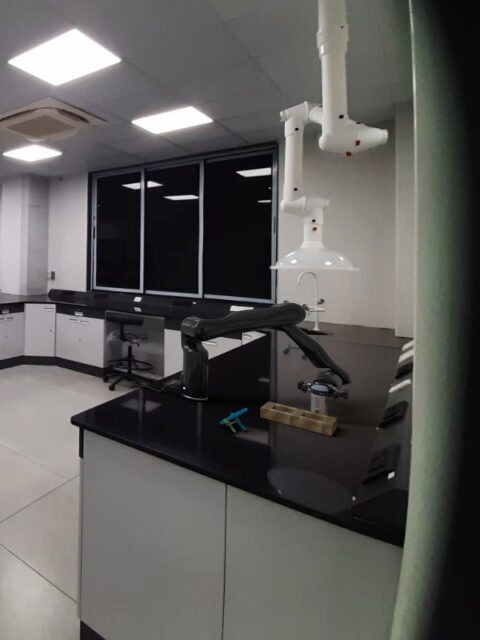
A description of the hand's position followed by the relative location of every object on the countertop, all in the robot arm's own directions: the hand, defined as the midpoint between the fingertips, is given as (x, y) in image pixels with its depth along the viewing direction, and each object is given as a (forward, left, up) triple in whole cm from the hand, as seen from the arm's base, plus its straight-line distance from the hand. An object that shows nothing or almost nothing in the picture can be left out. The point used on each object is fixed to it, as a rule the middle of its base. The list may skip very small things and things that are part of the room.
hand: (319, 393), depth 146 cm
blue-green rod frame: (-17, -35, -10) cm, 40 cm away
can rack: (-4, -10, -10) cm, 15 cm away
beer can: (0, +1, -10) cm, 10 cm away
